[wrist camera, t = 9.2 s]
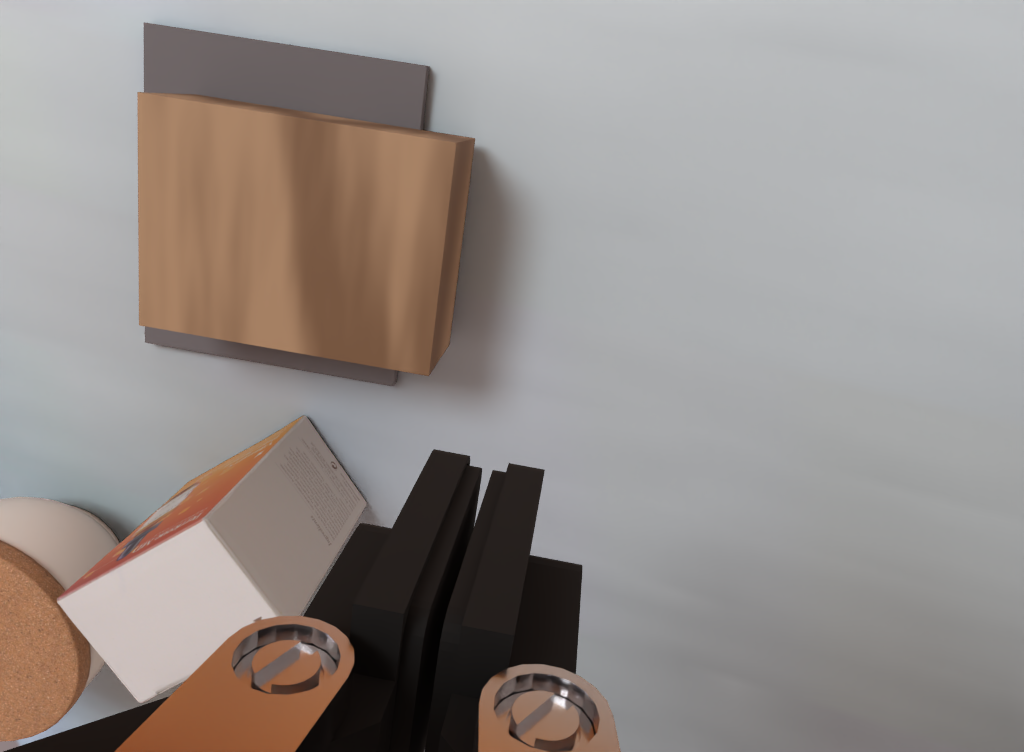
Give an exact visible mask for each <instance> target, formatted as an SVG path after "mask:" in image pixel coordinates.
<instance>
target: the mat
mask: <svg viewBox="0 0 1024 752" xmlns="http://www.w3.org/2000/svg"><path fill="white" fill-rule="evenodd" d="M428 77H429V66H424V65H417V64H411V63H404V62H398V61H391V60H385V59H378V58H372V57H365V56H358V55H352V54H345V53H339V52H332V51H326V50H319V49H313V48H306V47H300V46H293V45H287V44H280V43H274V42H267V41H261V40H254V39H248V38H241V37H235V36H228V35H222V34H215V33H208V32H202V31H195V30H189V29H182V28H176V27H169V26H163V25H156V24H150V23H144V93H172V94H197V95H203V96H210V97H216V98H222V99H229V100H235V101H241V102H247V103H254V104H260V105H266V106H273V107H279V108H285V109H292V110H298V111H304V112H311V113H317V114H323V115H330V116H336V117H342V118H349V119H355V120H361V121H368V122H374V123H380V124H387V125H393V126H399V127H406V128H412V129H418V130H423V125H424V115H425V105H426V96H427V86H428ZM145 342H146V343H151V344H157V345H163V346H168V347H174V348H180V349H185V350H191V351H197V352H202V353H208V354H213V355H219V356H225V357H230V358H236V359H242V360H247V361H253V362H259V363H264V364H270V365H276V366H281V367H287V368H293V369H298V370H304V371H310V372H315V373H321V374H327V375H332V376H338V377H344V378H349V379H355V380H361V381H366V382H372V383H378V384H383V385H389V386H394V385H395V383H396V382H397V373H398V371H397V370H392V369H386V368H380V367H375V366H369V365H363V364H357V363H352V362H346V361H340V360H335V359H329V358H323V357H318V356H312V355H306V354H300V353H295V352H289V351H283V350H278V349H272V348H266V347H261V346H255V345H249V344H243V343H238V342H232V341H226V340H221V339H215V338H209V337H204V336H198V335H192V334H186V333H181V332H175V331H169V330H164V329H158V328H152V327H147V326H145Z"/></svg>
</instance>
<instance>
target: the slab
mask: <svg viewBox="0 0 1024 752" xmlns="http://www.w3.org/2000/svg"><path fill="white" fill-rule="evenodd" d="M474 144H475V138H469V137H463V136H456V135H450V134H444V133H437V132H431V131H425V130H418V129H412V128H406V127H399V126H393V125H387V124H380V123H374V122H368V121H361V120H355V119H349V118H342V117H336V116H330V115H323V114H317V113H311V112H304V111H298V110H292V109H285V108H279V107H273V106H266V105H260V104H254V103H247V102H241V101H235V100H229V99H222V98H216V97H210V96H203V95H197V94H172V93H144V92H138V223H139V325H141V326H147V327H152V328H158V329H164V330H169V331H175V332H181V333H186V334H192V335H198V336H204V337H209V338H215V339H221V340H226V341H232V342H238V343H243V344H249V345H255V346H261V347H266V348H272V349H278V350H283V351H289V352H295V353H300V354H306V355H312V356H318V357H323V358H329V359H335V360H340V361H346V362H352V363H357V364H363V365H369V366H375V367H380V368H386V369H392V370H397V371H403V372H409V373H414V374H420V375H426V376H429V375H430V373H431V372H432V370H433V369H434V367H435V366H436V364H437V363H438V361H439V360H440V358H441V357H442V355H443V354H444V352H445V350H446V349H447V347H448V346H449V343H450V335H451V327H452V319H453V311H454V303H455V295H456V287H457V279H458V271H459V264H460V256H461V248H462V240H463V232H464V224H465V216H466V208H467V200H468V192H469V184H470V176H471V168H472V160H473V152H474Z"/></svg>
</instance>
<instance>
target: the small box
mask: <svg viewBox="0 0 1024 752" xmlns="http://www.w3.org/2000/svg"><path fill="white" fill-rule="evenodd" d="M366 505H367V503H366V501H365V500H364V498H363V497H362V495H361V494H360V493H359V491H358V490H357V488H356V487H355V485H354V484H353V482H352V481H351V480H350V478H349V477H348V475H347V474H346V472H345V471H344V469H343V468H342V467H341V465H340V464H339V463H338V461H337V460H336V458H335V457H334V455H333V454H332V453H331V451H330V450H329V448H328V447H327V445H326V444H325V443H324V441H323V440H322V438H321V437H320V435H319V434H318V432H317V431H316V429H315V428H314V427H313V425H312V424H311V422H310V421H309V419H308V418H307V417H306V416H301V417H300V418H298V419H297V420H295V421H293V422H292V423H290V424H289V425H287V426H285V427H284V428H282V429H281V430H279V431H277V432H276V433H274V434H272V435H271V436H269V437H267V438H266V439H264V440H262V441H260V442H259V443H257V444H255V445H253V446H251V447H250V448H248V449H246V450H244V451H242V452H241V453H239V454H237V455H235V456H233V457H232V458H230V459H228V460H226V461H224V462H223V463H221V464H219V465H217V466H216V467H214V468H212V469H210V470H209V471H207V472H205V473H203V474H202V475H200V476H198V477H196V478H194V479H193V480H191V481H189V482H188V483H187V484H185V485H184V486H183V487H182V488H181V489H180V490H179V491H178V492H177V493H176V494H175V495H174V496H172V497H171V498H170V499H169V500H168V501H167V502H166V503H165V504H163V505H162V506H161V507H160V508H159V509H158V510H157V511H155V512H154V513H153V514H152V515H151V516H150V517H149V518H147V519H146V520H145V521H144V522H143V523H142V524H141V525H140V526H139V527H137V528H136V529H135V530H134V531H133V532H132V533H131V534H130V535H129V536H128V537H127V538H125V539H124V540H123V541H122V542H121V543H120V544H118V545H117V546H116V547H115V548H114V549H113V550H111V551H110V552H109V553H108V554H107V555H106V556H104V557H103V558H102V559H101V560H100V561H99V562H98V563H97V564H96V565H94V566H93V567H92V568H91V569H90V570H89V571H88V572H87V573H85V574H84V575H83V576H82V577H81V578H80V579H79V580H78V581H76V582H75V583H74V584H73V585H72V586H71V587H70V588H69V589H67V590H66V591H65V592H64V593H63V594H62V595H61V596H60V597H58V598H57V603H58V604H59V605H60V606H61V608H62V609H63V610H64V612H65V613H66V614H67V616H68V617H69V618H70V619H71V621H72V622H73V623H74V624H75V626H76V627H77V628H78V629H79V630H80V632H81V633H82V634H83V635H84V636H85V638H86V639H87V640H88V641H89V643H90V644H91V645H92V646H93V648H94V649H95V650H96V651H97V652H98V654H99V655H100V656H101V657H102V659H103V660H104V661H105V662H106V663H107V665H108V666H109V667H110V668H111V670H112V671H113V672H114V673H115V674H116V676H117V677H118V678H119V679H120V681H121V682H122V683H123V684H124V685H125V687H126V688H127V689H128V690H129V691H130V693H131V694H132V695H133V696H134V697H135V699H136V700H137V701H138V702H139V703H144V702H146V701H148V700H150V699H151V698H153V697H155V696H157V695H159V694H160V693H162V692H164V691H166V690H168V689H170V688H172V687H173V686H175V685H177V684H179V683H181V682H184V681H186V680H187V679H188V678H189V677H190V676H191V675H192V674H193V673H194V672H195V671H196V670H197V669H198V668H199V667H200V666H201V665H202V664H203V663H204V662H205V661H206V660H207V659H208V658H209V657H210V656H211V655H212V654H213V653H214V652H215V651H216V650H217V649H218V648H219V647H220V646H221V645H222V644H223V643H224V642H225V641H226V640H227V639H228V638H229V637H230V636H232V635H233V634H234V633H236V632H237V631H238V630H240V629H241V628H243V627H245V626H247V625H250V624H252V623H254V622H257V621H259V620H263V619H268V618H273V617H278V616H300V615H301V613H302V612H303V610H304V608H305V607H306V605H307V603H308V602H309V600H310V598H311V596H312V595H313V593H314V592H315V590H316V588H317V587H318V585H319V583H320V582H321V580H322V579H323V577H324V575H325V574H326V572H327V570H328V569H329V567H330V565H331V564H332V562H333V561H334V559H335V557H336V555H337V554H338V552H339V551H340V549H341V547H342V545H343V544H344V542H345V540H346V539H347V537H348V536H349V534H350V532H351V531H352V529H353V527H354V526H355V524H356V522H357V520H358V519H359V517H360V515H361V514H362V512H363V510H364V509H365V507H366Z"/></svg>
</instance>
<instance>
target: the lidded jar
mask: <svg viewBox="0 0 1024 752" xmlns="http://www.w3.org/2000/svg"><path fill="white" fill-rule="evenodd" d="M118 544H120V542H119V540H118V538H117V537H116V535H115V534H114V533H113V531H112V530H111V529H110V528H109V527H108V526H107V525H106V524H105V523H104V522H103V521H102V520H100V519H99V518H98V517H96V516H95V515H93V514H91V513H90V512H88V511H85V510H83V509H81V508H78V507H75V506H70V505H67V504H64V503H61V502H58V501H55V500H50V499H44V498H36V497H14V498H5V499H0V741H15V740H19V739H23V738H28V737H32V736H34V735H37V734H39V733H41V732H44V731H46V730H47V729H49V728H50V727H52V726H53V725H55V724H56V723H57V722H58V721H59V720H60V719H61V718H62V717H63V716H64V715H65V714H66V713H67V712H68V711H69V710H70V709H71V708H72V707H73V705H74V704H75V703H76V701H77V700H78V698H79V697H80V695H81V694H82V692H83V690H84V689H85V688H86V687H87V686H88V685H89V684H90V682H91V681H92V680H93V679H94V677H95V676H96V675H97V674H98V673H99V671H100V670H101V668H102V667H103V665H104V664H105V661H104V660H103V659H102V657H101V656H100V655H99V654H98V652H97V651H96V650H95V649H94V648H93V646H92V645H91V644H90V643H89V641H88V640H87V639H86V638H85V636H84V635H83V634H82V633H81V632H80V630H79V629H78V628H77V627H76V626H75V624H74V623H73V622H72V621H71V619H70V618H69V617H68V616H67V614H66V613H65V612H64V610H63V609H62V608H61V606H60V605H59V604H58V603H57V598H58V597H60V596H61V595H62V594H63V593H64V592H65V591H66V590H67V589H69V588H70V587H71V586H72V585H73V584H74V583H75V582H76V581H78V580H79V579H80V578H81V577H82V576H83V575H84V574H85V573H87V572H88V571H89V570H90V569H91V568H92V567H93V566H94V565H96V564H97V563H98V562H99V561H100V560H101V559H102V558H103V557H104V556H106V555H107V554H108V553H109V552H110V551H111V550H113V549H114V548H115V547H116V546H117V545H118Z"/></svg>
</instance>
